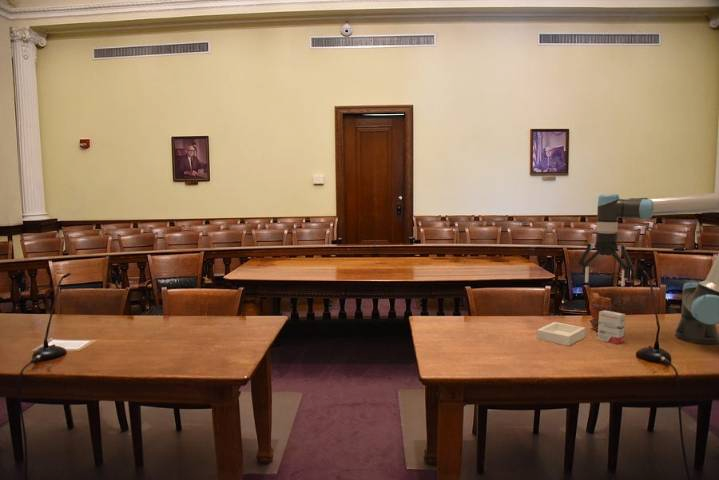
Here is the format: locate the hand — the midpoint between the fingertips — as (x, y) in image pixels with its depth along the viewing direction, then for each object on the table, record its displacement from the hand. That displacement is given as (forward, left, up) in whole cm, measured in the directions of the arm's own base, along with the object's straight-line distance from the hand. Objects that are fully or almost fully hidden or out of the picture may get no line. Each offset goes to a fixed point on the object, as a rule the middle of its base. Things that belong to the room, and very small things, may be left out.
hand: (604, 284), depth 203 cm
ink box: (-4, +3, -23) cm, 23 cm away
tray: (+12, +13, -22) cm, 28 cm away
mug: (+6, -12, -23) cm, 26 cm away
